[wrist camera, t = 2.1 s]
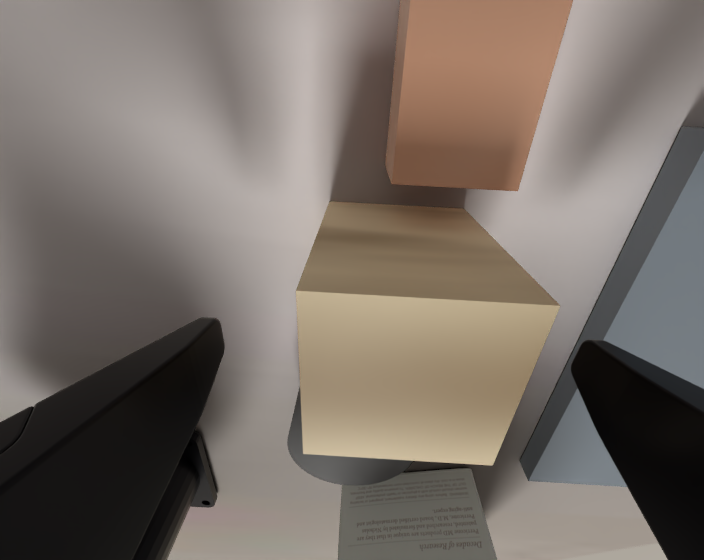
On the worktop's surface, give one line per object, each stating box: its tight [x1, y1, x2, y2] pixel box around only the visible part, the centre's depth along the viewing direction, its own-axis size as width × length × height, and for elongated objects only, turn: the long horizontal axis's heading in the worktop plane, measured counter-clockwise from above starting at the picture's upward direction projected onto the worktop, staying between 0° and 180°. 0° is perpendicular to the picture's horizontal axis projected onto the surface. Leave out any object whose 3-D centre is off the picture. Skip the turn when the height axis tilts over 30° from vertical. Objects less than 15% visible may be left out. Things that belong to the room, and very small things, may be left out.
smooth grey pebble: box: [288, 388, 413, 486], centre depth 14 cm, size 5×5×3 cm
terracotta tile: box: [385, 0, 573, 191], centre depth 8 cm, size 5×3×3 cm, turn 177°
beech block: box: [296, 201, 560, 466], centre depth 9 cm, size 4×4×6 cm
